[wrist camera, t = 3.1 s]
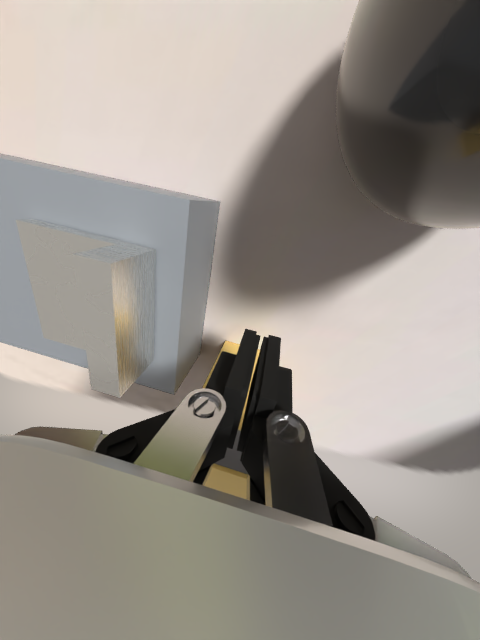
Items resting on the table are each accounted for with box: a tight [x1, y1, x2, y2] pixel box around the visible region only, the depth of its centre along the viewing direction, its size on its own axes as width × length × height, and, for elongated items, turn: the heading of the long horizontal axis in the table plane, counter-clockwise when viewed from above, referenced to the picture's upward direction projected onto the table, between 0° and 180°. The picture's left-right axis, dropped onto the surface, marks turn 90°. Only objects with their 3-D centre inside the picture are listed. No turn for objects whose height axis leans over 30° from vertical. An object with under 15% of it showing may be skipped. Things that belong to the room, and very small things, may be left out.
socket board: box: [0, 154, 220, 394], centre depth 16 cm, size 16×12×5 cm
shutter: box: [16, 219, 156, 398], centre depth 12 cm, size 7×7×3 cm
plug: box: [202, 341, 260, 499], centre depth 16 cm, size 4×4×10 cm
